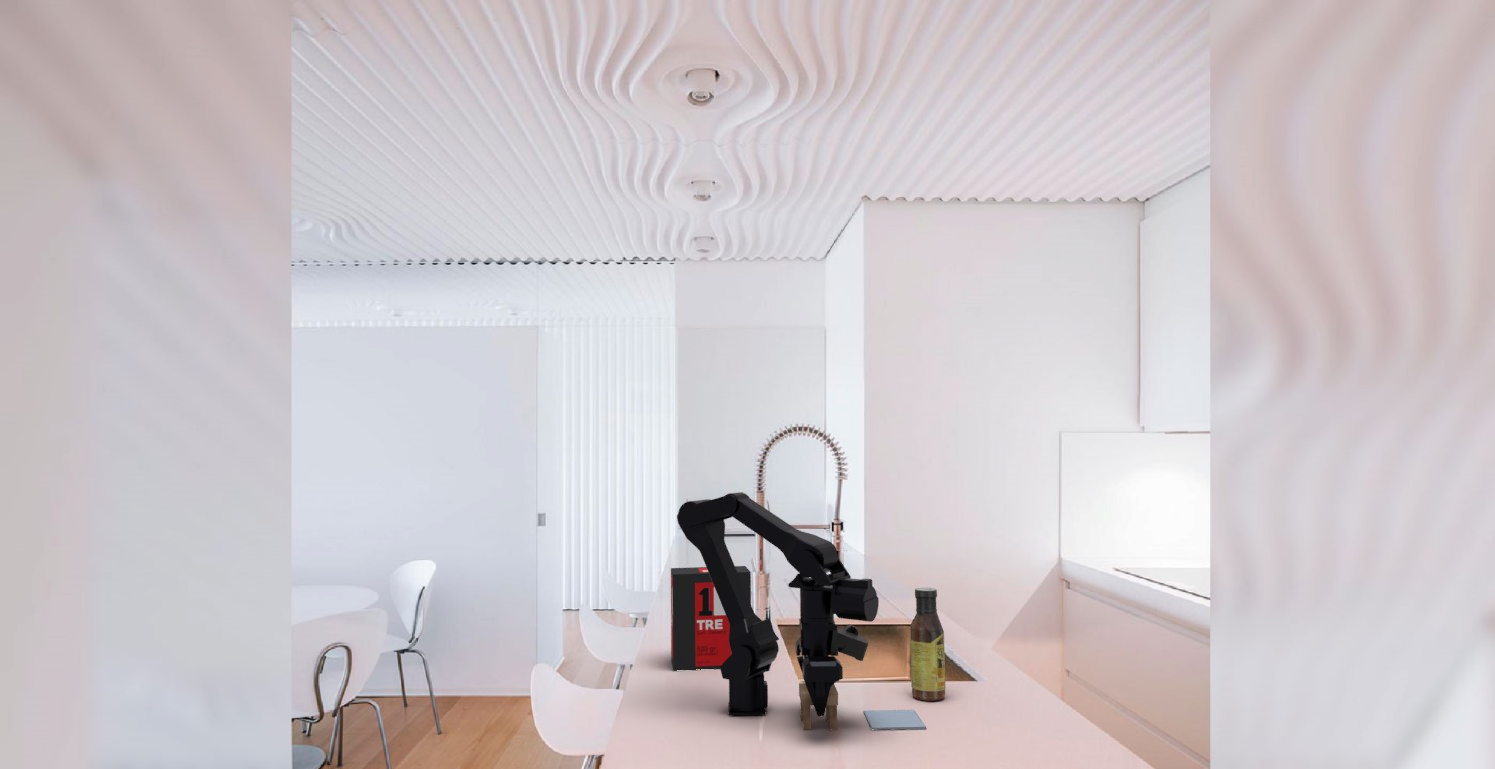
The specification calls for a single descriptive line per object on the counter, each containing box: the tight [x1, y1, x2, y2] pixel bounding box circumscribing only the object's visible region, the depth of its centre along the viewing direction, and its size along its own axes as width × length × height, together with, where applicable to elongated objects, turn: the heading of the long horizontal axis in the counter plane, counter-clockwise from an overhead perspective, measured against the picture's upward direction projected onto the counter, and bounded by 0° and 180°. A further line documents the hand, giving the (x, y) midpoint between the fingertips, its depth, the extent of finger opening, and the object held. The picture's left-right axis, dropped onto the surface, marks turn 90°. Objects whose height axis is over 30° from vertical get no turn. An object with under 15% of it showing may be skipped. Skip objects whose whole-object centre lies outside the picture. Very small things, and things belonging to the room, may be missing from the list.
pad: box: [863, 709, 927, 730], centre depth 148 cm, size 9×9×1 cm
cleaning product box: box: [670, 565, 752, 672], centre depth 186 cm, size 16×9×20 cm, turn 98°
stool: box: [798, 682, 839, 731], centre depth 146 cm, size 6×6×6 cm
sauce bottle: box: [909, 587, 946, 702], centre depth 161 cm, size 6×6×20 cm
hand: (818, 708), depth 146 cm, fingers open, 7 cm apart
